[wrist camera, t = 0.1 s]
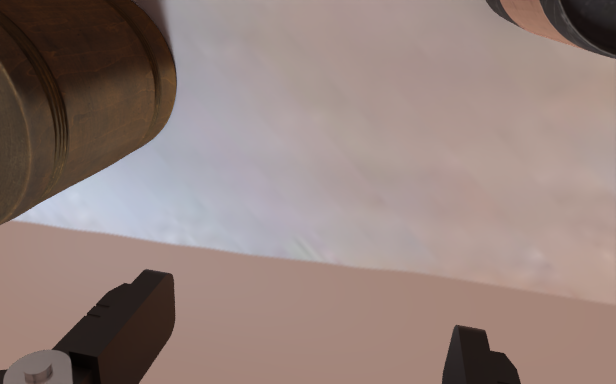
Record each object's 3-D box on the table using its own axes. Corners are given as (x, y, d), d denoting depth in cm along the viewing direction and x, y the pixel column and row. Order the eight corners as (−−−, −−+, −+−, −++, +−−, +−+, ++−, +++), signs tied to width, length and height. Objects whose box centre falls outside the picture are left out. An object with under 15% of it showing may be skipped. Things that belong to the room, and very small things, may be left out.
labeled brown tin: (79, -58, 39) (-254, -104, 20) (210, 77, 42) (31, 159, 22) (-2, 68, 45) (-323, 131, 25) (116, 180, 48) (-92, 319, 28)
